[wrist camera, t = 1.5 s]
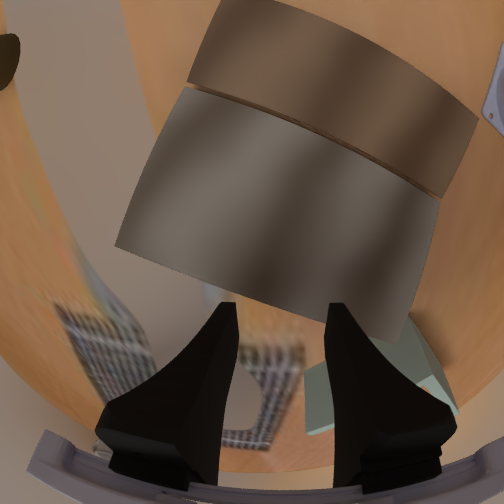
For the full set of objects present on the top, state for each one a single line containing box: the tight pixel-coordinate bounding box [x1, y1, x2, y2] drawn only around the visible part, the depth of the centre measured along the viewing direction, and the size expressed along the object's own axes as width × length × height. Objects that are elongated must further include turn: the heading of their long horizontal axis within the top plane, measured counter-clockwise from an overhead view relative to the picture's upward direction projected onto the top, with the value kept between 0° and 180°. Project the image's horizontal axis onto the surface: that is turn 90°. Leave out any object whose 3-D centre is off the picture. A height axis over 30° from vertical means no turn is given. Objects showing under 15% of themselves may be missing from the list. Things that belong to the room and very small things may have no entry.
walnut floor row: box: [187, 0, 479, 199], centre depth 14 cm, size 18×7×2 cm, turn 69°
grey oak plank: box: [115, 87, 440, 344], centre depth 16 cm, size 18×10×2 cm, turn 69°
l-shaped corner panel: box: [304, 315, 459, 436], centre depth 24 cm, size 12×12×8 cm
